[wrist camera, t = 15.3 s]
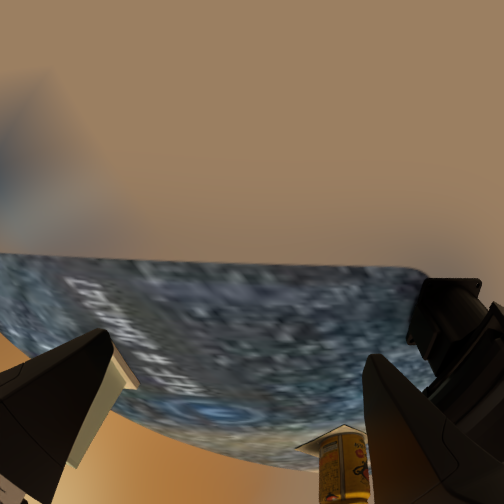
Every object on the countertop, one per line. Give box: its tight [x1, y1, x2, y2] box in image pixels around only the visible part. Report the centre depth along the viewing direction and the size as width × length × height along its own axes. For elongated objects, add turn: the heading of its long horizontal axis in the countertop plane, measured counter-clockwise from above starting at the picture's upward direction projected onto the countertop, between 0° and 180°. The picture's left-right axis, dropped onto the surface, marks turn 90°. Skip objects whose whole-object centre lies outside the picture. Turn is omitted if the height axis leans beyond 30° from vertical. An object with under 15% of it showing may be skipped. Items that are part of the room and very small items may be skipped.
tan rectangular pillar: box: [66, 360, 126, 469], centre depth 21 cm, size 5×5×13 cm
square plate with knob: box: [111, 340, 140, 389], centre depth 26 cm, size 7×7×4 cm
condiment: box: [295, 425, 370, 504], centre depth 23 cm, size 7×8×12 cm
